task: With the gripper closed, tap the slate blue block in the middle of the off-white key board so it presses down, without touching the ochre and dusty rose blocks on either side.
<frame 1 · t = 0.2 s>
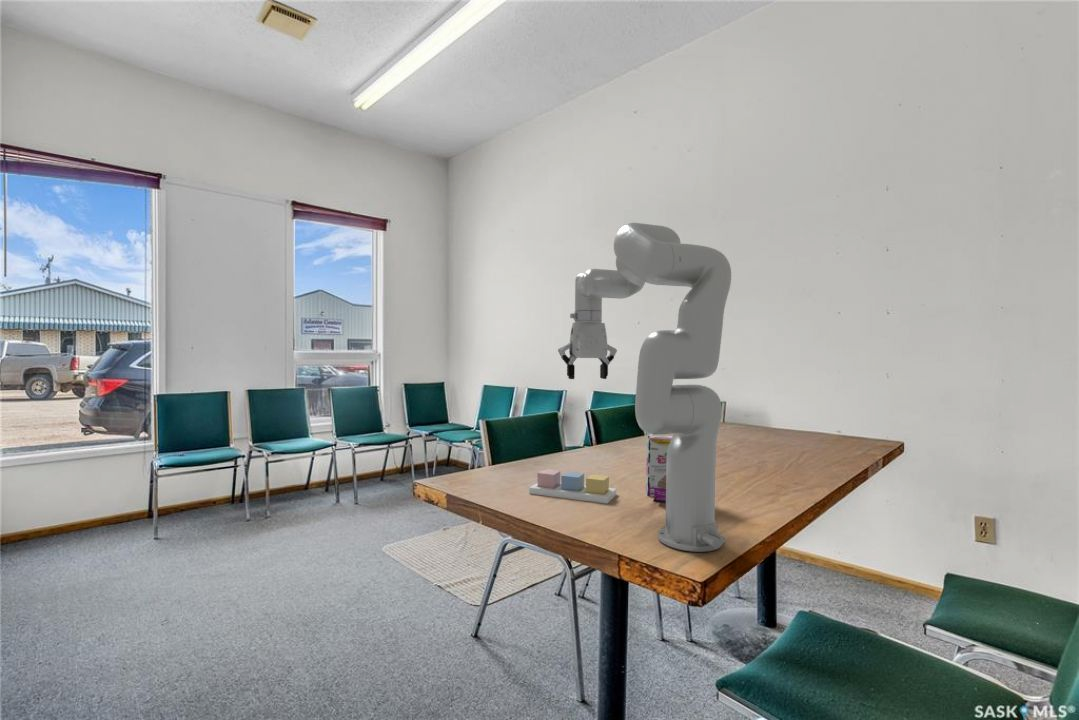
hand: (587, 378, 144), 30 cm above the table, tool pointing down, fingers open, 9 cm apart
key board: (572, 499, 131), on the table
rose block: (549, 481, 134), point 4 cm above the table, slide at 0.0 cm
slate blue block: (572, 484, 131), point 4 cm above the table, slide at 0.0 cm
candy bar box: (668, 501, 131), on the table
ochre block: (597, 487, 129), point 4 cm above the table, slide at 0.0 cm
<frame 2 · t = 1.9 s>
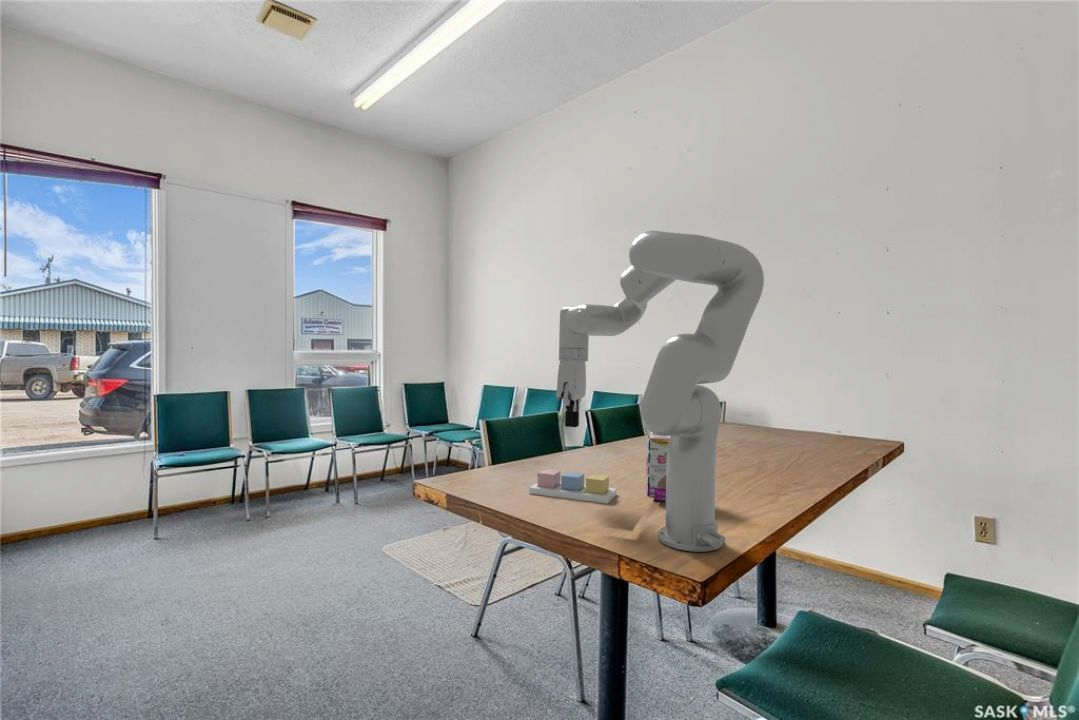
hand: (571, 426, 131), 19 cm above the table, tool pointing down, fingers closed
nothing on the table moved.
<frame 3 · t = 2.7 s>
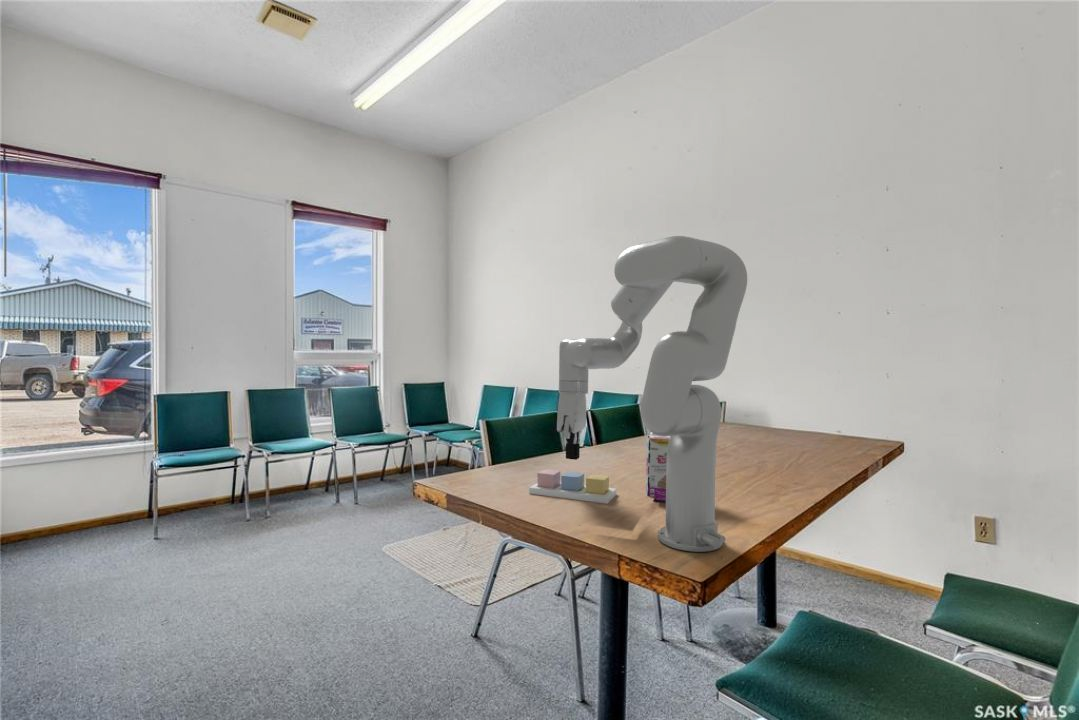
hand: (572, 458, 131), 11 cm above the table, tool pointing down, fingers closed
nothing on the table moved.
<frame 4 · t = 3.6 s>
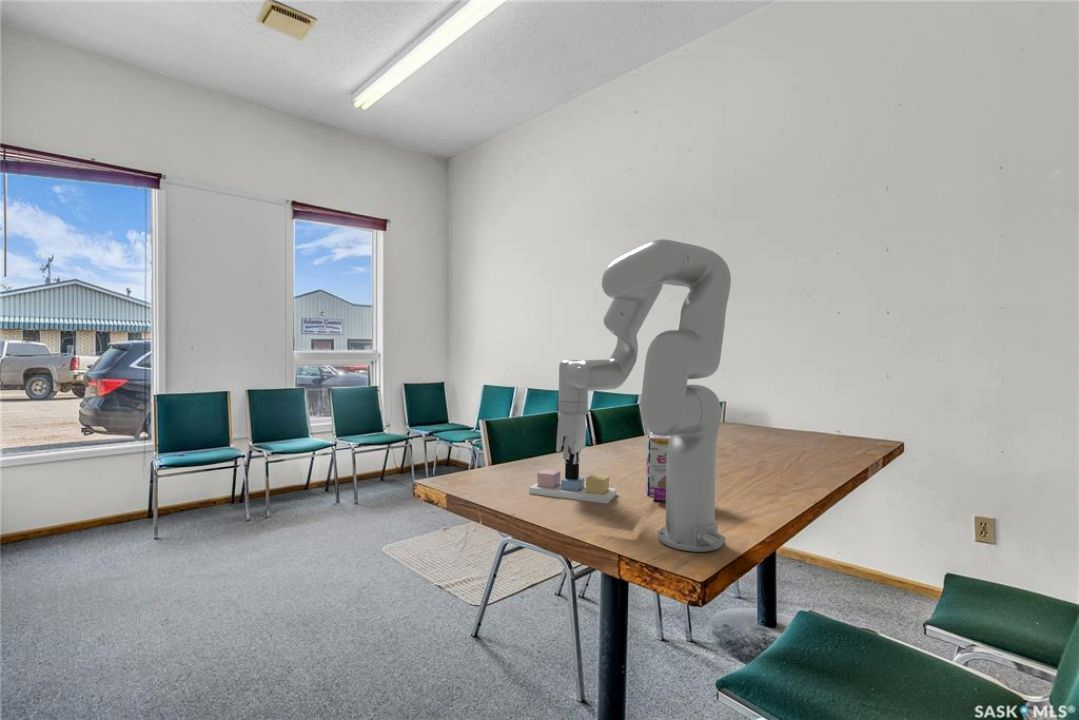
hand: (571, 478, 131), 5 cm above the table, tool pointing down, fingers closed
slate blue block: (572, 488, 131), point 3 cm above the table, slide at 1.1 cm, touching gripper
everything else where it was.
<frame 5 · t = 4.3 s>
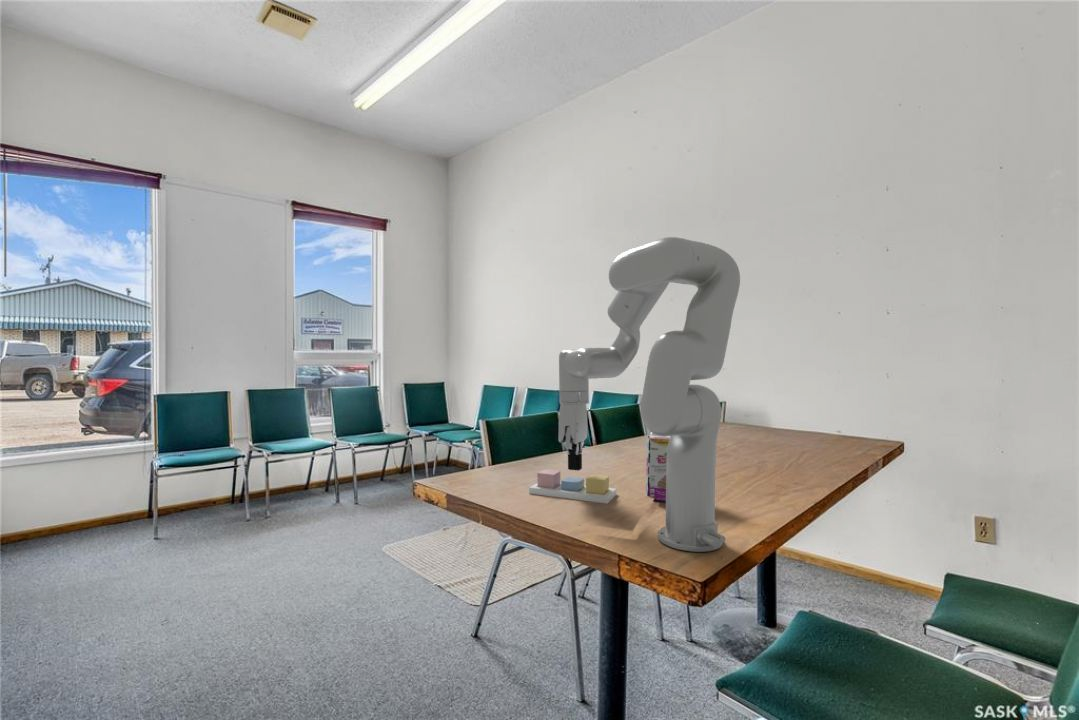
hand: (575, 469, 130), 8 cm above the table, tool pointing down, fingers closed
slate blue block: (572, 489, 131), point 3 cm above the table, slide at 1.3 cm
everything else where it was.
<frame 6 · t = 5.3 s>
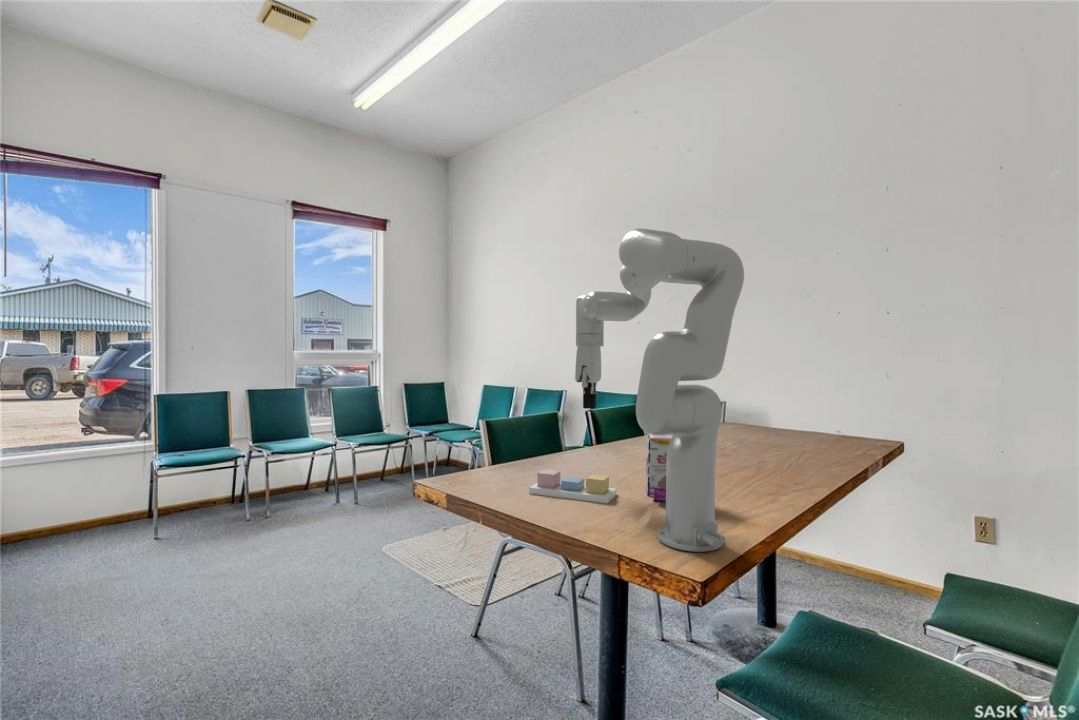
hand: (589, 408, 139), 23 cm above the table, tool pointing down, fingers closed
nothing on the table moved.
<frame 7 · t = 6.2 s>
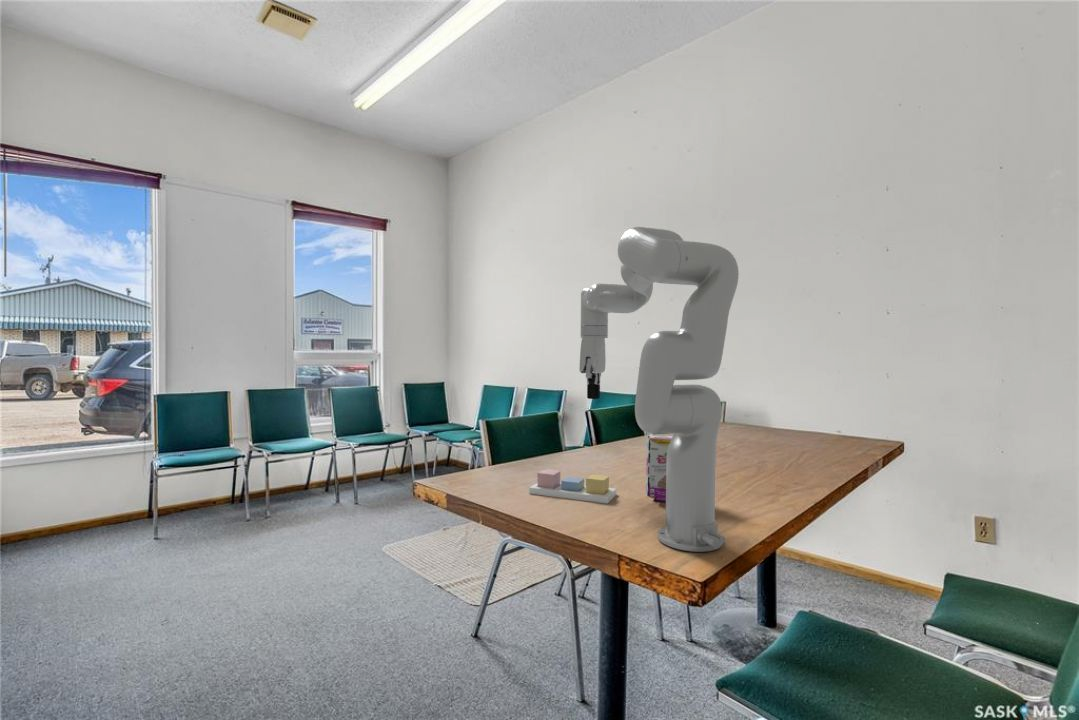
hand: (593, 398, 142), 25 cm above the table, tool pointing down, fingers closed
nothing on the table moved.
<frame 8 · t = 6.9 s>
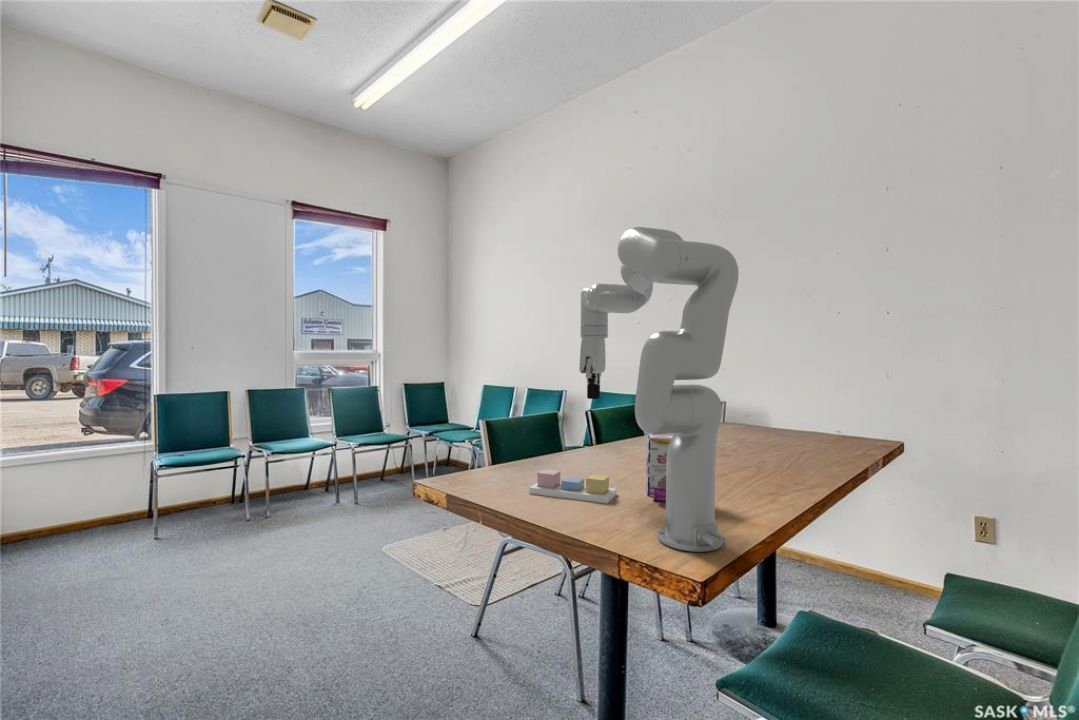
hand: (593, 398, 142), 25 cm above the table, tool pointing down, fingers closed
nothing on the table moved.
at the end: slate blue block slide at 1.3 cm; ochre block slide at 0.0 cm; rose block slide at 0.0 cm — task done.
